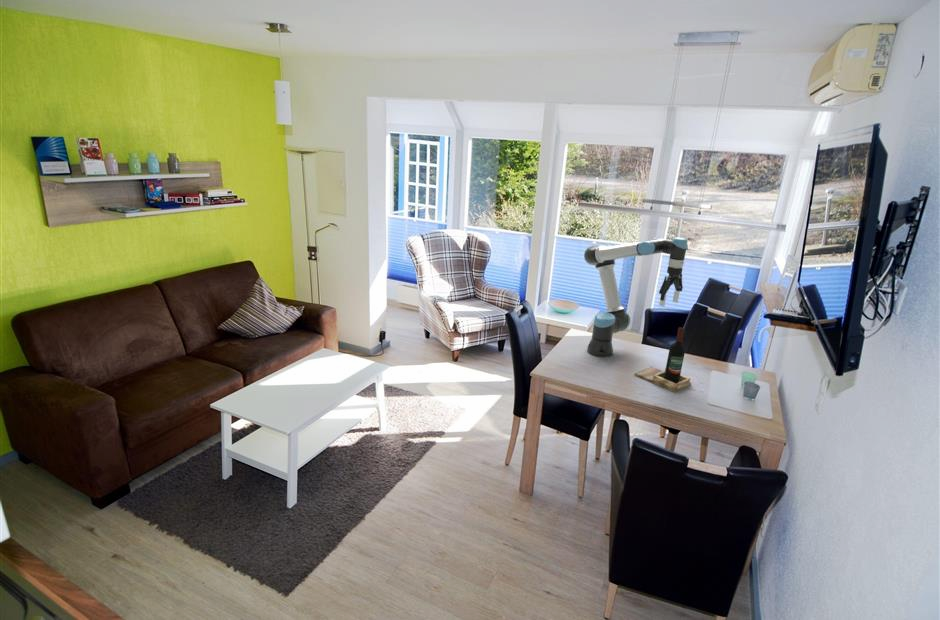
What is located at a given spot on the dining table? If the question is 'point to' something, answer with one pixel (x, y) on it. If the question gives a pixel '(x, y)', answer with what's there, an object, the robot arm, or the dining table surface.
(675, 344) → the wine bottle
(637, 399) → the dining table surface
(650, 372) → the board
